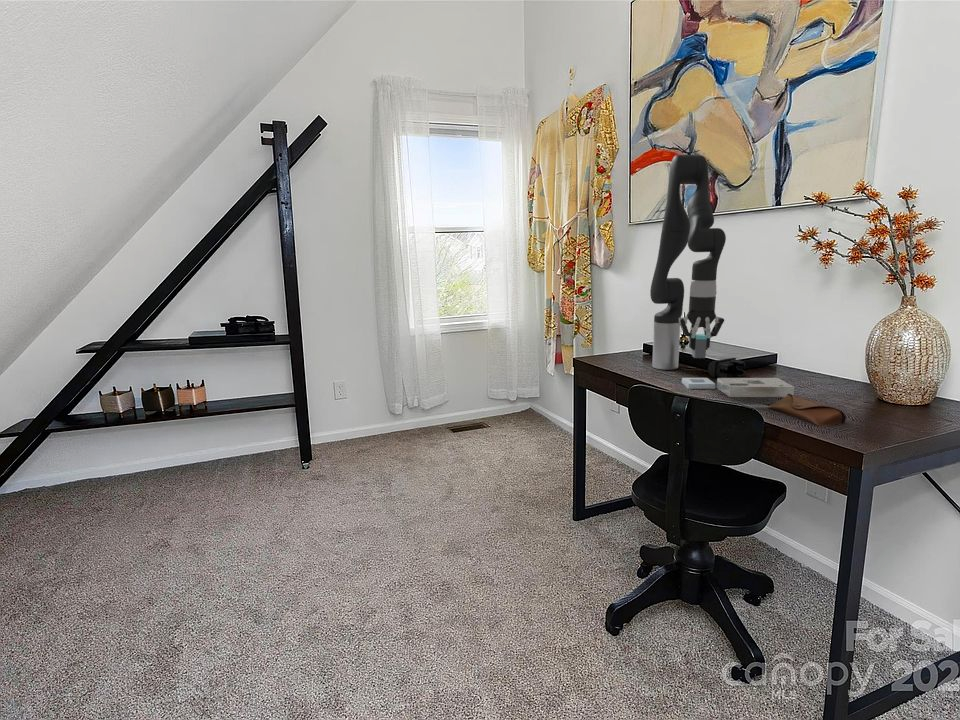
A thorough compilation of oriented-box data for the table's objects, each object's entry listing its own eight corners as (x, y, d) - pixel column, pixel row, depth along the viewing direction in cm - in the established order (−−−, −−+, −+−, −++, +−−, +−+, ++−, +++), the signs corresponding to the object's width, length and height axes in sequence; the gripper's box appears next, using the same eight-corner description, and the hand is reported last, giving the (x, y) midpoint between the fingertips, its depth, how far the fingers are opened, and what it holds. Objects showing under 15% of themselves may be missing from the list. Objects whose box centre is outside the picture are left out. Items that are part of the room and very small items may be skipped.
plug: (691, 355, 173) (693, 334, 172) (702, 355, 173) (703, 334, 171) (694, 358, 170) (696, 336, 168) (705, 358, 170) (706, 336, 168)
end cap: (727, 375, 190) (728, 356, 189) (744, 379, 184) (746, 359, 182) (707, 378, 185) (708, 359, 184) (724, 383, 179) (725, 363, 178)
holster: (681, 385, 177) (681, 377, 177) (706, 385, 177) (707, 377, 176) (688, 391, 170) (688, 383, 169) (714, 391, 169) (715, 383, 168)
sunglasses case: (763, 407, 152) (775, 386, 151) (779, 416, 154) (791, 396, 154) (820, 426, 135) (833, 403, 135) (837, 437, 137) (850, 414, 137)
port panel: (728, 400, 160) (729, 385, 159) (716, 390, 170) (717, 377, 169) (793, 400, 158) (794, 385, 157) (776, 390, 168) (777, 376, 168)
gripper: (722, 293, 170) (718, 347, 174) (676, 293, 171) (673, 347, 175) (730, 295, 163) (726, 351, 166) (682, 296, 164) (679, 352, 168)
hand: (699, 349), depth 171 cm, fingers closed on plug, 3 cm apart
